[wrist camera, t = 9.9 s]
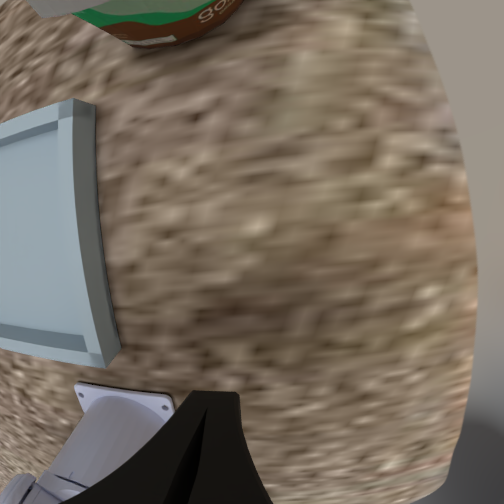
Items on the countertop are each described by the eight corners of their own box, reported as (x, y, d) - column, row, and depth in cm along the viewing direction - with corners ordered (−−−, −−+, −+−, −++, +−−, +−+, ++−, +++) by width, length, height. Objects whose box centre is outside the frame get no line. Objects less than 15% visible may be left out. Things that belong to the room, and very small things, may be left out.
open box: (121, 348, 19) (106, 368, 16) (-9, 328, 19) (-26, 340, 17) (95, 105, 15) (73, 98, 13) (-35, 150, 16) (-56, 151, 13)
